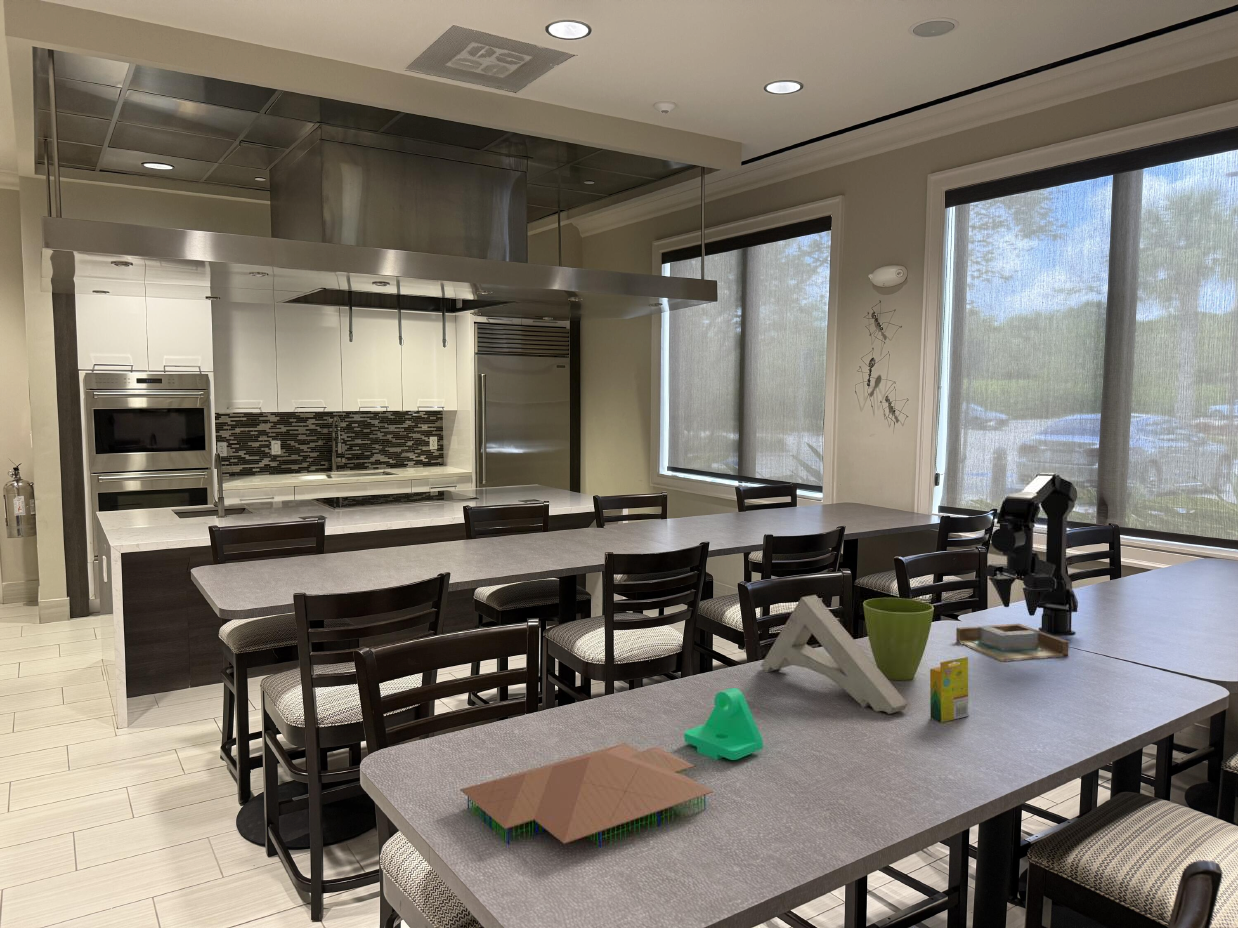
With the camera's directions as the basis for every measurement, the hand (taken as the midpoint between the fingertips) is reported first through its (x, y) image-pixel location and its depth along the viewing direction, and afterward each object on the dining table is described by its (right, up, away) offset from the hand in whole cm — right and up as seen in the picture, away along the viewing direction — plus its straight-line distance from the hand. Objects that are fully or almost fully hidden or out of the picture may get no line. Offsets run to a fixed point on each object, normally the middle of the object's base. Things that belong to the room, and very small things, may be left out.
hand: (1018, 611), depth 204 cm
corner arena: (0, -10, +4) cm, 11 cm away
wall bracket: (-53, -13, -26) cm, 60 cm away
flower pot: (-35, -12, -17) cm, 40 cm away
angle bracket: (-1, -9, +3) cm, 10 cm away
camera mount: (-79, -15, -57) cm, 99 cm away
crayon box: (-34, -13, -43) cm, 56 cm away
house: (-101, -16, -78) cm, 129 cm away
